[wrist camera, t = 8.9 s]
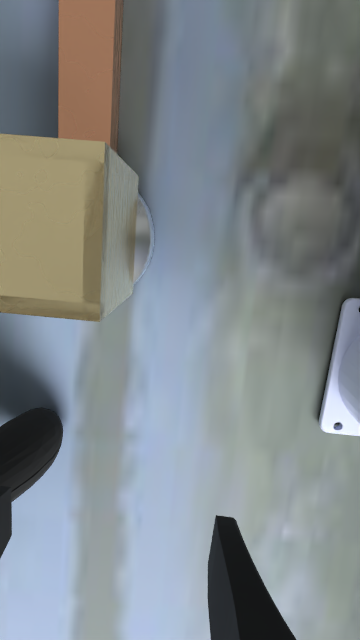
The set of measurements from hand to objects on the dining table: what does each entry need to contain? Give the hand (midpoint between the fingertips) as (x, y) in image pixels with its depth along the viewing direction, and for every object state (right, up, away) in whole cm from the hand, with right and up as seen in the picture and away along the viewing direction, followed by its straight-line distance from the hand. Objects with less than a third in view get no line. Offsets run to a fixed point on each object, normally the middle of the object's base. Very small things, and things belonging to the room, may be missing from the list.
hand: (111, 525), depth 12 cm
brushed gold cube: (-3, +11, +5) cm, 13 cm away
